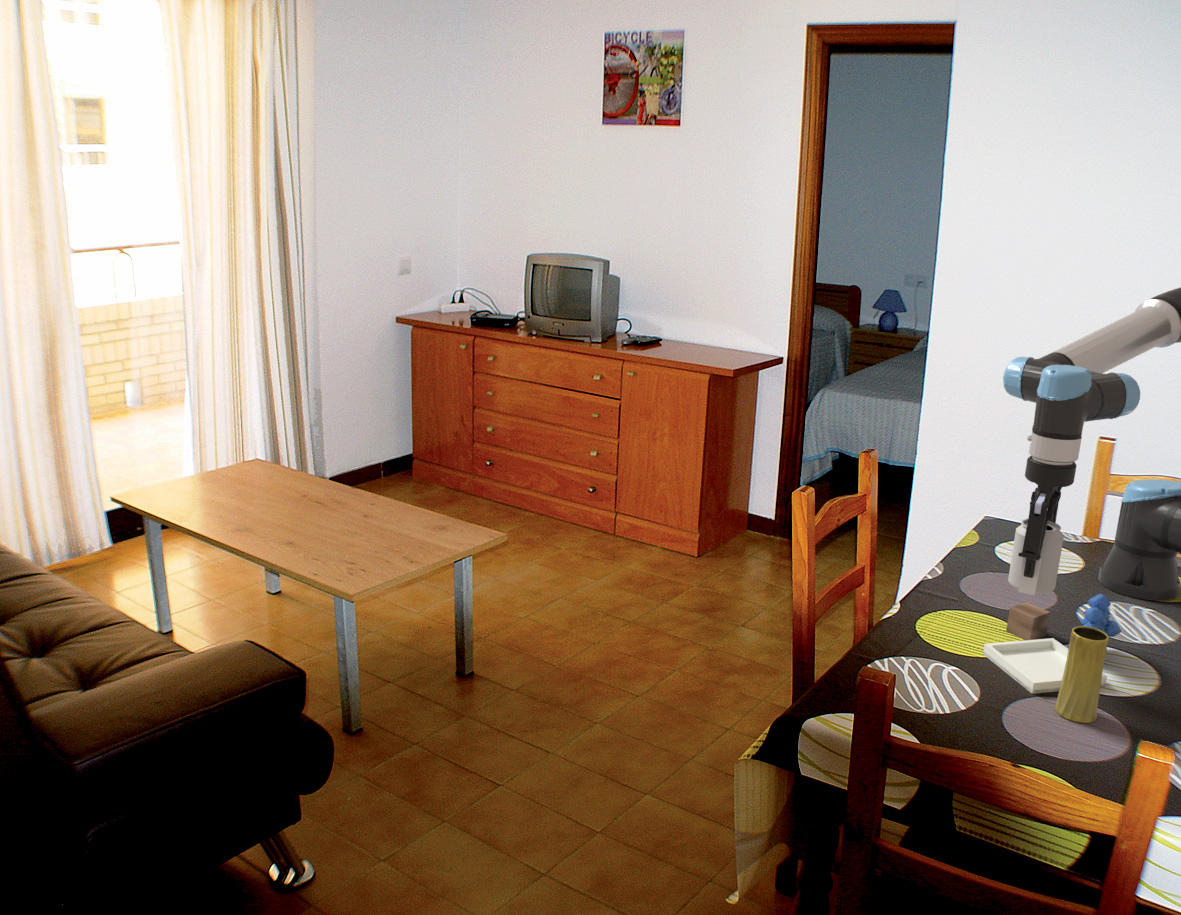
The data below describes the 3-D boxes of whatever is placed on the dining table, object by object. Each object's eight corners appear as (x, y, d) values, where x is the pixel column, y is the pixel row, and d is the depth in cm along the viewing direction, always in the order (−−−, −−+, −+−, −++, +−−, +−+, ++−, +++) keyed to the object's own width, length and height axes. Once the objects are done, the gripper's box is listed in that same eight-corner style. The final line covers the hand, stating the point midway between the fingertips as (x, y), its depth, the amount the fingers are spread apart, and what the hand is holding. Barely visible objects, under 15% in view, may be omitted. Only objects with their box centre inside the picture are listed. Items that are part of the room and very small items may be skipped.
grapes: (1109, 674, 169) (1121, 611, 166) (1067, 662, 173) (1078, 600, 170) (1121, 649, 178) (1133, 589, 175) (1081, 638, 182) (1092, 579, 179)
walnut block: (1022, 625, 187) (1026, 602, 186) (1045, 636, 183) (1050, 612, 182) (1005, 631, 185) (1009, 607, 183) (1029, 642, 180) (1033, 618, 179)
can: (1058, 599, 165) (1070, 533, 161) (1011, 594, 166) (1021, 528, 163) (1049, 582, 172) (1060, 518, 168) (1004, 577, 173) (1013, 514, 170)
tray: (1051, 647, 178) (1053, 638, 178) (1104, 686, 165) (1106, 676, 165) (982, 653, 175) (984, 643, 175) (1031, 693, 162) (1033, 683, 162)
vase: (1047, 703, 159) (1061, 624, 155) (1082, 703, 160) (1097, 624, 156) (1067, 724, 154) (1083, 642, 149) (1104, 723, 154) (1120, 642, 150)
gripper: (1040, 441, 172) (1021, 561, 179) (1014, 469, 156) (994, 599, 163) (1087, 449, 168) (1065, 571, 175) (1065, 478, 152) (1042, 611, 159)
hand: (1031, 584), depth 169 cm, fingers closed on can, 7 cm apart
